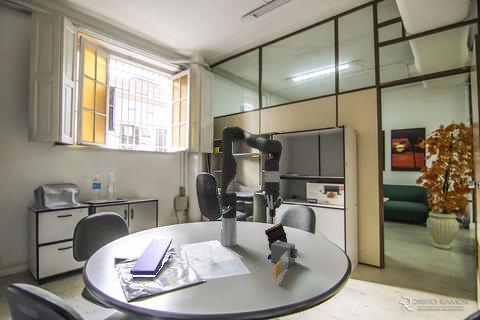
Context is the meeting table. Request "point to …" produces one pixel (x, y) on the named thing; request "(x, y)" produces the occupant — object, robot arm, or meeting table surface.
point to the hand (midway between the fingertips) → (272, 216)
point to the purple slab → (151, 257)
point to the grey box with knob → (283, 251)
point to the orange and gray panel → (282, 264)
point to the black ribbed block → (276, 234)
